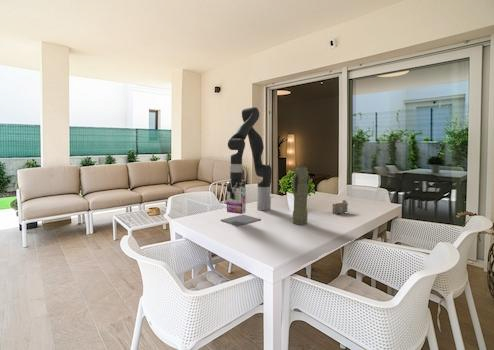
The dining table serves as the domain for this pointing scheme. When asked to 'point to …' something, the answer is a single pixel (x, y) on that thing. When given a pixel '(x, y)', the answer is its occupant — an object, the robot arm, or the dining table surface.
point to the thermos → (300, 195)
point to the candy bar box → (237, 201)
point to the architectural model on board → (340, 207)
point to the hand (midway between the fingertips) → (236, 197)
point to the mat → (240, 220)
